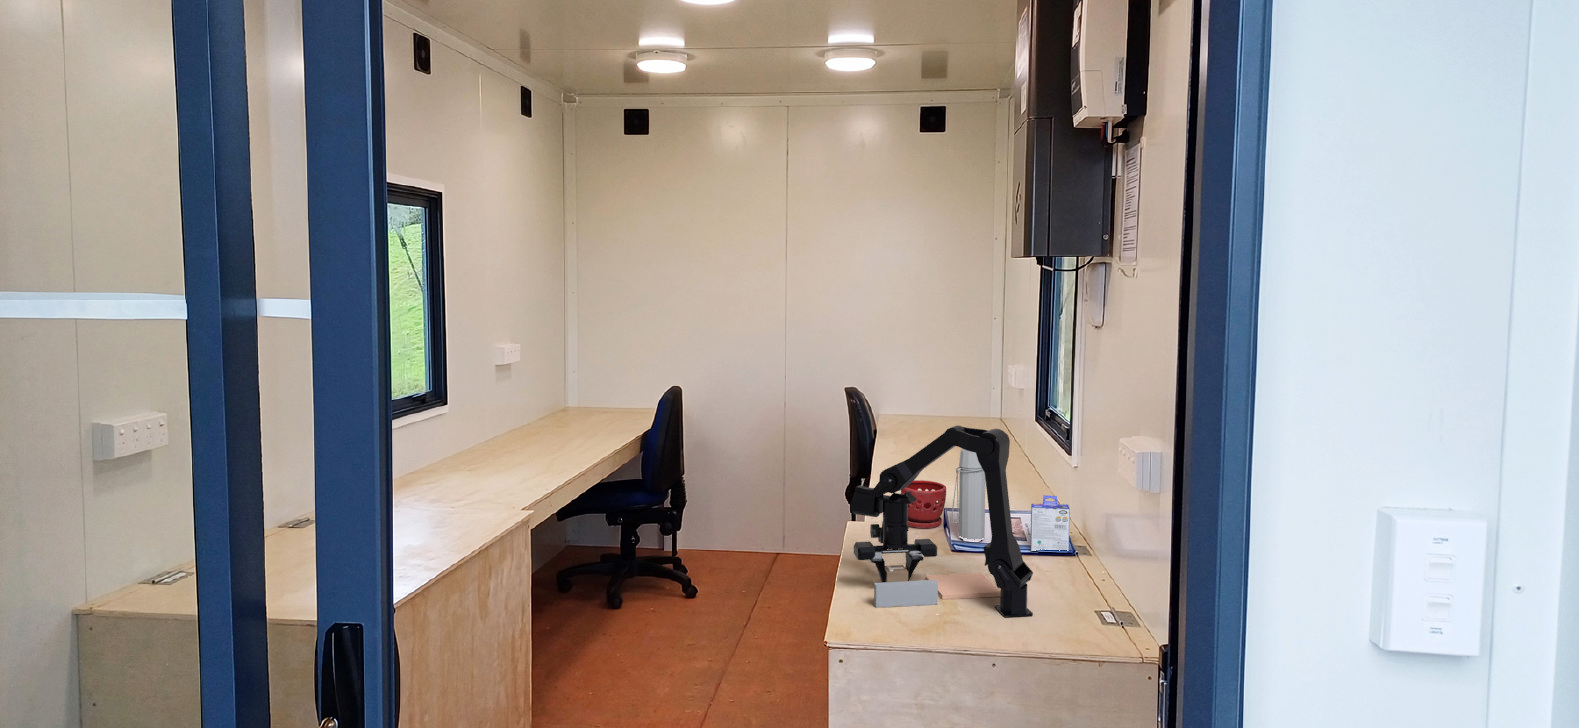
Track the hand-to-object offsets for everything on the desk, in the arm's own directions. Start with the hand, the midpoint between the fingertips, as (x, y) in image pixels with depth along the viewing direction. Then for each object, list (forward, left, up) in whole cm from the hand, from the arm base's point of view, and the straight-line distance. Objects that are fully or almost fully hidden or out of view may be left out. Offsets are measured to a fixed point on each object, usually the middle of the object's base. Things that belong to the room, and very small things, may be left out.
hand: (894, 585), depth 224 cm
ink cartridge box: (+24, -48, -1) cm, 54 cm away
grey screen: (-10, 0, -1) cm, 10 cm away
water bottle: (+37, -30, -1) cm, 48 cm away
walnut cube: (0, 0, -1) cm, 1 cm away
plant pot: (+54, -22, -1) cm, 58 cm away
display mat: (-1, -16, -1) cm, 16 cm away
